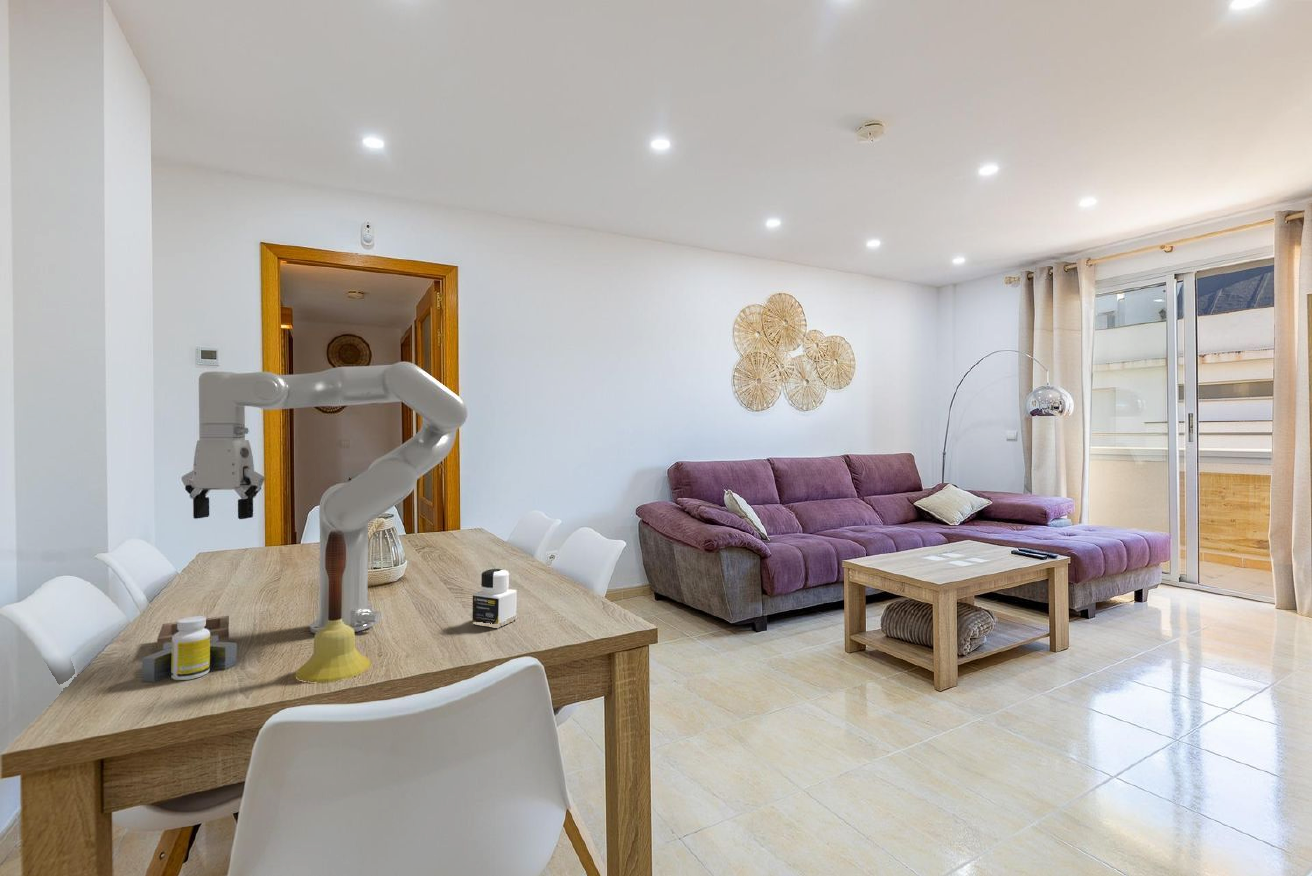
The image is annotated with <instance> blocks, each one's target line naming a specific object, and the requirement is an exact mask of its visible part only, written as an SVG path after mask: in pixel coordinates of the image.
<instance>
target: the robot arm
mask: <svg viewBox="0 0 1312 876" xmlns="http://www.w3.org/2000/svg"><path fill="white" fill-rule="evenodd" d="M398 402H399V403H400V402H402V403H403V404H404V405H406V406H407V407H409V408H410V409H412V411H414V412H415V413H417V414H418V415H419V416H420V417H421V419H422V421H421V422H422V423H421V426H420V429H419V430H418V432H417V433H416V434H415V435H413V436H412V437H411V438H409V439H408V440H406V441H405V442H403V443H402V444H400V445H399V446H398V447H395V449H393V450H391V451H390V452H388V453H386V454H385V455H382V456H380V457H378V458H376V459H375V460H374V461H372V463H370V465H369V466H368V468H367V469H366V470H364V471H363V472H362V473H360V474H359V475H357V476H356V477H354V478H352V479H350V480H349V481H348V482H341V483H337V484H335V485H332V486H330V487H329V488H327V490H326V491H324V493H323V495H322V496H321V499H320V501H319V508H318V509H319V510H318V511H319V512H318V513H319V515H318V516H319V517H318V518H319V564H318V565H319V566H318V568H319V569H318V619H316V620H314V621H313V622H311V624H310V626H309V629H310V632H311V633H312V634H314V635H315V634H316V633H317V632H318V631H319V630H320V629H321V628H323V627H325V626H326V624H327V622H328V604H329V579H328V574H327V571H326V568H325V551H326V545H327V541H328V536H329V533H330V532H331V531H342V532H343V535H344V541H345V545H346V567H345V570H344V573H343V577H342V621H343V623H344V624H345V625H348V626H350V627H351V628H353V630H354V632H355V633H357V632H360V631H364V630H367V629H369V628H371V627H372V626H374V624H377V623H379V622H380V620H381V617H382V615H383V613H382V611H381V610H380V611H379V610H372V606H373V605H372V603H368V579H369V577H368V573H369V571H368V568H369V567H368V566H369V565H368V564H369V560H368V559H369V557H368V556H369V524H370V523H371V522H373V521H374V520H376V519H377V518H379V517H380V516H382V515H383V514H385V513H386V512H387V511H389V510H390V509H392V508H394V507H395V506H396V505H398V504H399V503H401V502H402V501H404V500H405V499H406V498H407V497H408V496H409V495H410V494H411V493H412V492H413V491H414V489H415V488H416V485H417V482H418V480H419V479H420V478H421V477H422V476H424V475H425V474H427V473H428V472H429V471H430V470H432V469H433V468H434V467H436V466H437V465H439V464H440V463H441V462H442V461H443V460H445V458H446V457H447V456H448V455H449V454H450V452H451V451H452V449H453V446H454V444H455V441H456V437H457V430H458V429H460V428H461V427H462V426H463V425H464V424H465V423H466V421H467V418H468V408H467V405H466V404H465V402H464V401H463V399H462V398H461V397H459V396H458V394H456V393H455V392H453V391H452V390H450V389H449V388H448V387H446V386H445V385H444V384H442V383H441V382H440V381H439V380H437V379H435V377H433V376H432V375H430V374H429V373H428V372H427V371H425V370H424V369H422V368H421V367H419V365H417V364H415V363H413V362H410V361H399V362H396V363H393V364H382V365H378V364H377V365H365V366H364V365H363V366H362V365H361V366H359V365H358V366H356V365H355V366H354V365H353V366H338V367H333V368H329V369H326V370H323V371H318V372H311V373H310V372H309V373H301V374H300V373H299V374H279V375H278V374H276V373H273V372H271V371H268V372H267V371H257V372H256V371H255V372H254V371H253V372H243V373H242V372H238V373H237V372H231V371H220V370H219V371H217V370H215V371H205V372H202V373H201V374H200V375H199V377H198V422H199V423H198V429H199V430H198V436H199V437H198V438H199V440H197V442H196V445H195V449H194V456H193V467H192V468H193V469H192V470H191V471H189V472H188V473H186V474H184V475H182V476H181V478H180V479H181V481H182V483H183V486H184V489H185V491H186V492H187V493H188V494H189V498H190V499H192V506H193V507H192V508H193V513H192V515H193V519H195V520H197V519H204V518H208V517H210V497H208V496H207V495H208V494H209V492H211V490H212V491H213V490H214V491H215V490H218V491H219V490H222V491H223V490H224V491H226V490H227V491H229V490H231V491H232V490H234V491H235V493H236V494H237V495H238V496H239V498H238V500H237V518H238V519H239V520H245V519H250V518H253V516H254V498H256V497H257V494H258V493H259V492H260V491H261V490H262V486H263V484H264V482H265V479H266V478H265V476H264V475H262V473H261V474H260V473H258V472H257V471H255V465H254V456H253V452H252V447H251V444H250V441H249V440H248V439H246V435H248V434H249V431H250V430H249V428H248V427H246V425H245V424H246V422H245V421H246V418H245V417H246V415H245V414H246V410H245V408H246V407H252V408H259V409H262V410H266V411H272V410H283V409H285V410H287V409H297V408H298V409H299V408H311V407H312V408H314V407H342V406H343V407H345V406H354V405H355V406H359V405H371V404H384V403H386V404H387V403H388V404H389V403H398Z"/></svg>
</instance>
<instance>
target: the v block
mask: <svg viewBox="0 0 1312 876" xmlns="http://www.w3.org/2000/svg"><path fill="white" fill-rule="evenodd" d="M237 645H238V644H237V642H231V641H230V642H218V635H214V636H210V670H211V669H214V670H225V671H226V670H228V669H230V668H233V667H235V666H236V665H237V655H238V653H237V647H238V646H237ZM171 657H172V642H167V643H164V645H163V650H162V651H159V652H157V651H156V652H155V653H152V654H148V655H145V656H143V657H141V682H146V683H155V682H158V681H160V680H163V679H165V678H167V677H170V676H171V659H172V658H171ZM234 665H235V666H234Z"/></svg>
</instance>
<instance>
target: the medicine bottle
mask: <svg viewBox="0 0 1312 876" xmlns="http://www.w3.org/2000/svg"><path fill="white" fill-rule="evenodd" d="M509 581H510V573H509V571H508V570H506V569H502V568H491V569H486V570H484V571H483V572H482V573H481V582H480V583H481V584H480V585H481V590H480V591H477V592H475V593H472V614H471V615H472V618H471V621H472V622H483V623H490V624H491V623H492V624H499V623H501V622H504V621H506V620H507V619H509V618H511V617H513V616H515V615H516V616H517V601H518V600H517V599H518V597H517V596H518V595H517V593H518V592H517V590H516V589H511V588H510V589H509V587H510V583H509Z"/></svg>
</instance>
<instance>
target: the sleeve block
mask: <svg viewBox="0 0 1312 876" xmlns="http://www.w3.org/2000/svg"><path fill="white" fill-rule="evenodd" d="M177 622H178V621H175V622H168V623H167V622H166V623H162V625H161V628H160V629H159V630H160V631H159V632H158V636H157V639H156V640H157V641H156V642H157V645H156V653H157V652H159V651H162V650H163V645H164V643H167V642H172V637H173V635H174V634H176V633H177V632H179V630H178V629H177ZM229 622H230V615H222V616H221V615H220V616H215V617H206V625H205V626H204V628H205V629H208V630H209V631H210V636H214V635H218V642H229V637H230V636H229V634H230V632H229V631H230V625H229V624H230V623H229Z"/></svg>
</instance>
